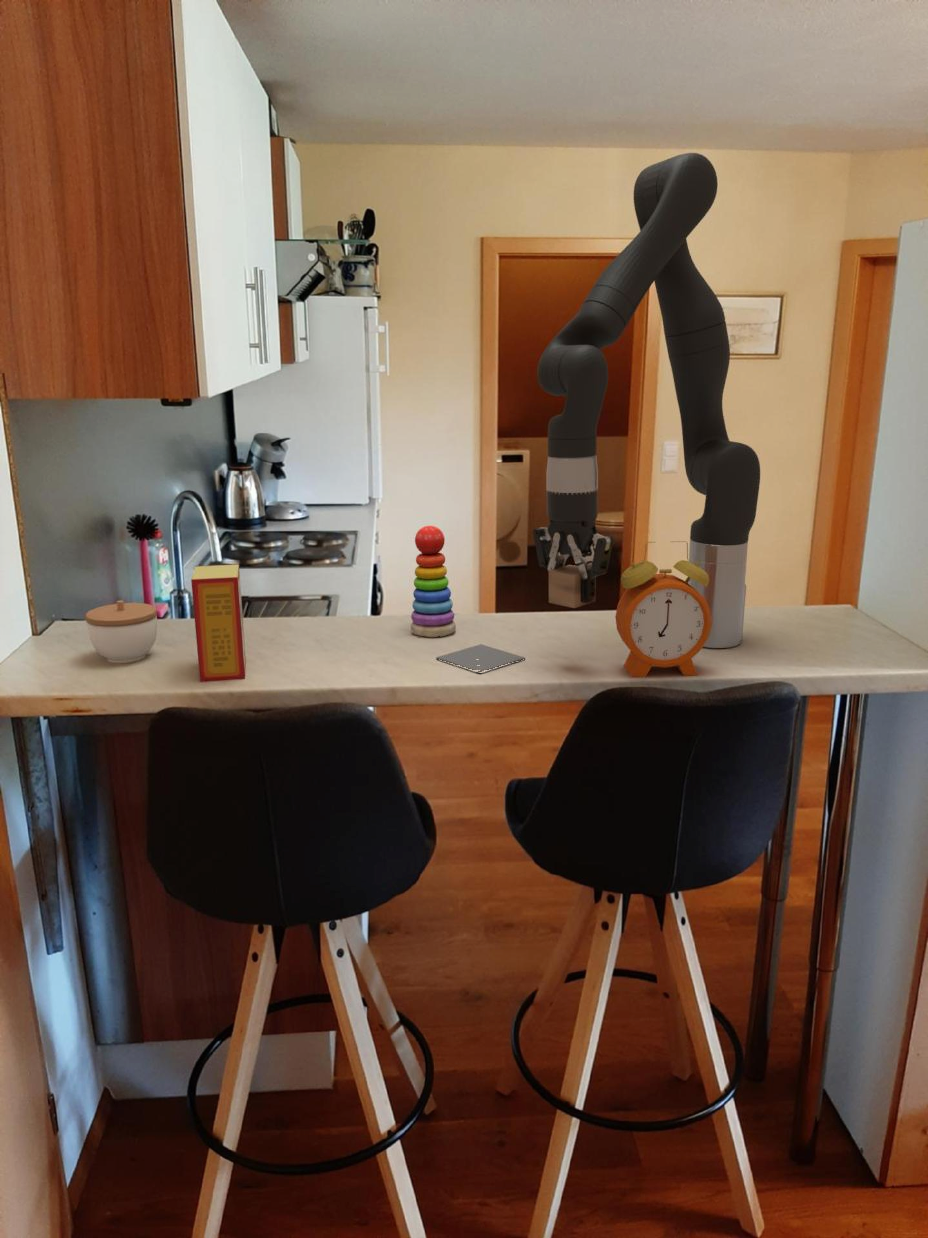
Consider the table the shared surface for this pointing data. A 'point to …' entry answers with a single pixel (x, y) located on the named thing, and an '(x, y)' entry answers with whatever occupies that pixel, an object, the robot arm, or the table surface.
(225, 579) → the baking soda box
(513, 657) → the mat
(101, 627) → the lidded jar
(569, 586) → the cube
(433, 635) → the stacking toy
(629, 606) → the alarm clock
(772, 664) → the table surface
